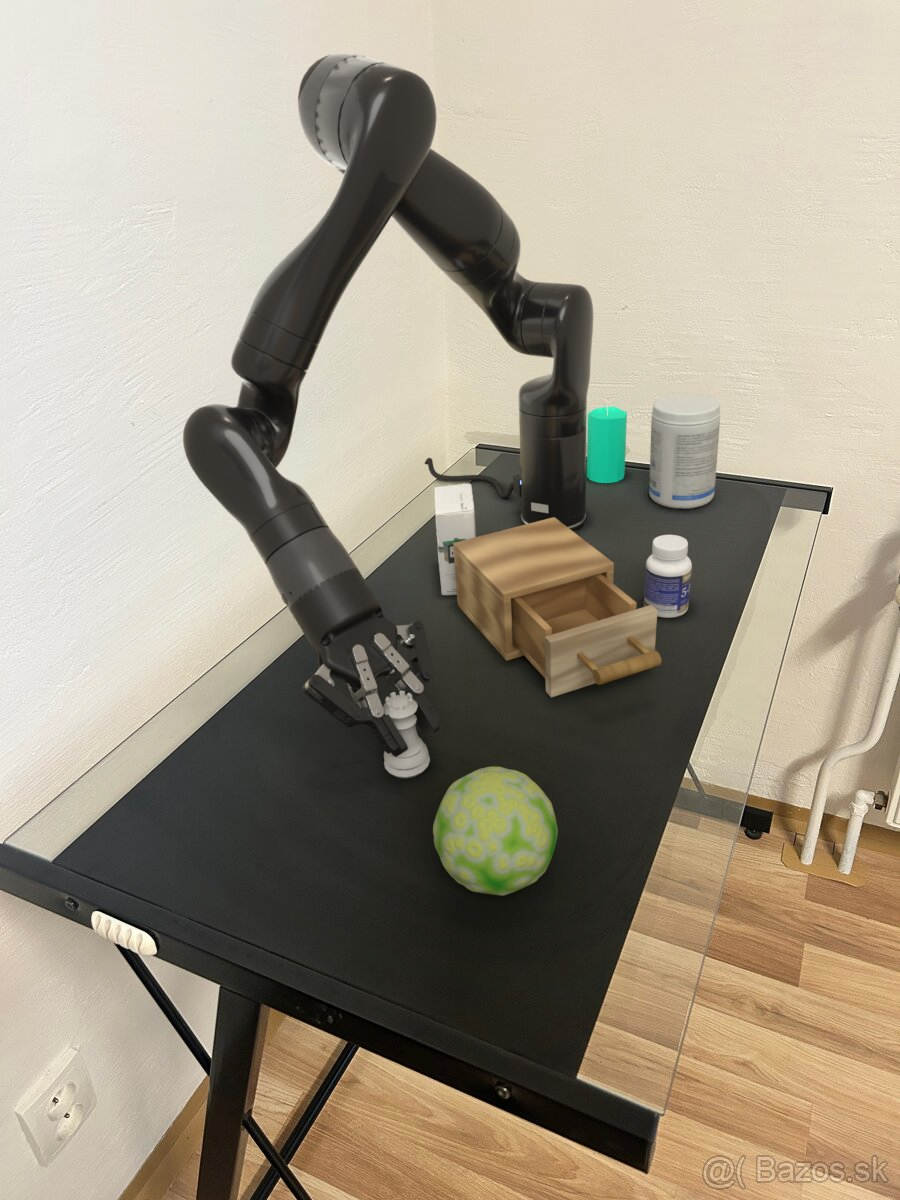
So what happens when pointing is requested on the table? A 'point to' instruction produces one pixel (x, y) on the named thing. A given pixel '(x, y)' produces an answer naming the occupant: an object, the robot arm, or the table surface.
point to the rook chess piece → (405, 737)
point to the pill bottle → (668, 576)
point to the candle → (606, 444)
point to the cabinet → (519, 573)
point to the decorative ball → (495, 831)
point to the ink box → (452, 528)
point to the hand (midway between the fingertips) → (417, 742)
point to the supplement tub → (684, 450)
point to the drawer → (584, 634)
